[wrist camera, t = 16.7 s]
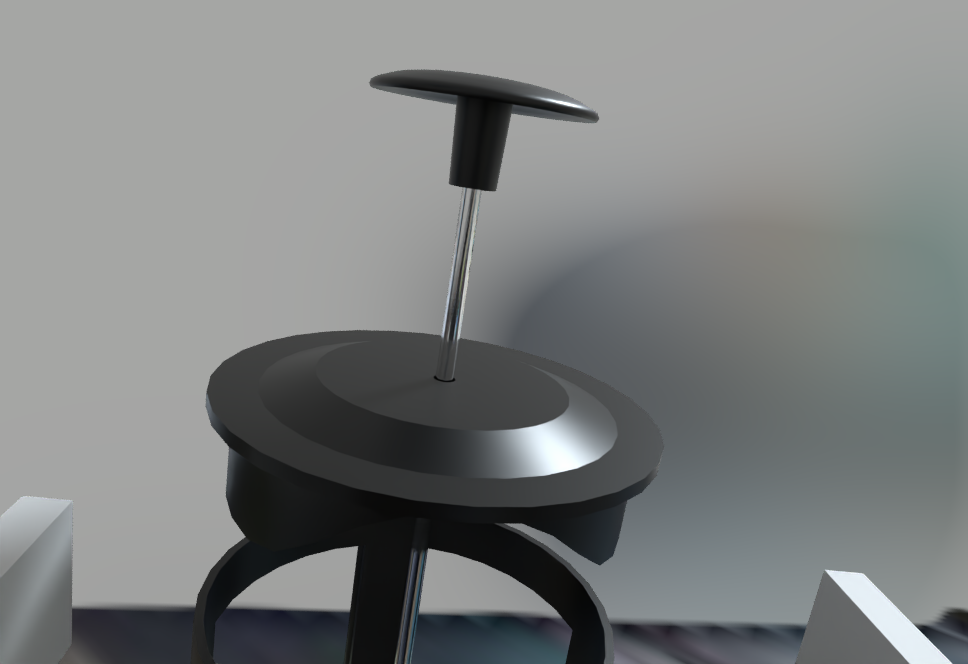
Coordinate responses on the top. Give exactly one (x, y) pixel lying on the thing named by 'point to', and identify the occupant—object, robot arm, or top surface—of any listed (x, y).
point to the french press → (428, 437)
